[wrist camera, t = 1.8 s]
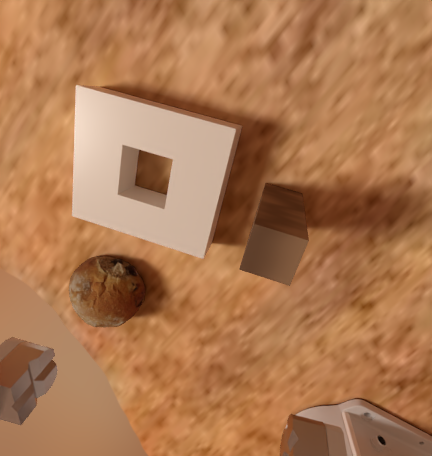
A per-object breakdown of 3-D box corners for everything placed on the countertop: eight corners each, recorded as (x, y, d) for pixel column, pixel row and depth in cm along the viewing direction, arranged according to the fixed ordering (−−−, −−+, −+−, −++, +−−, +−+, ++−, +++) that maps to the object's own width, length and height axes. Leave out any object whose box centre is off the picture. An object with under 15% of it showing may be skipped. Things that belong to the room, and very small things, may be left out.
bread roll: (93, 250, 46) (44, 283, 41) (124, 241, 39) (69, 279, 33) (128, 302, 48) (86, 339, 43) (164, 302, 41) (118, 347, 36)
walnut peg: (302, 193, 32) (308, 240, 21) (289, 226, 34) (289, 285, 23) (265, 182, 32) (253, 223, 22) (255, 216, 34) (239, 269, 23)
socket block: (242, 125, 31) (236, 129, 27) (211, 243, 37) (203, 258, 33) (99, 86, 32) (75, 84, 29) (92, 205, 38) (72, 216, 35)
